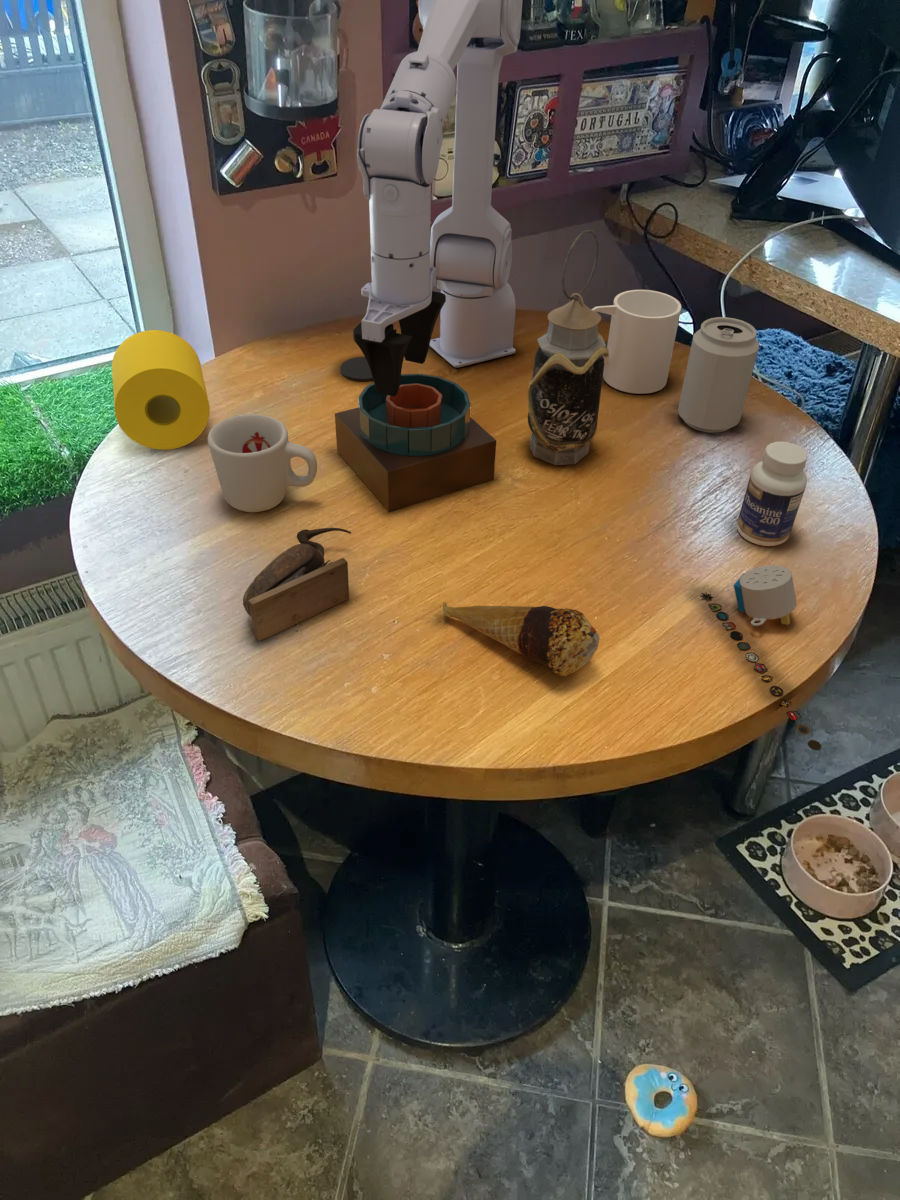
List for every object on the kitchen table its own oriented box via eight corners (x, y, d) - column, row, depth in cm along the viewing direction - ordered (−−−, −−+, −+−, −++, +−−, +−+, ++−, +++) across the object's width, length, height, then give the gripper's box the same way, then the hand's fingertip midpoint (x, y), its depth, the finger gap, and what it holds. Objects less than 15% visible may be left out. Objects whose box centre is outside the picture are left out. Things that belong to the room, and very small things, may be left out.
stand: (436, 424, 112) (437, 386, 109) (494, 479, 104) (496, 440, 100) (336, 451, 107) (334, 413, 104) (388, 511, 99) (387, 471, 95)
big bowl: (435, 390, 108) (435, 364, 106) (488, 439, 100) (490, 412, 98) (341, 414, 103) (340, 388, 101) (390, 467, 96) (389, 440, 94)
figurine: (386, 581, 90) (336, 537, 95) (385, 544, 87) (334, 500, 92) (258, 642, 83) (211, 590, 88) (252, 604, 80) (204, 553, 85)
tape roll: (94, 415, 101) (93, 374, 108) (170, 465, 108) (164, 423, 114) (154, 350, 99) (149, 312, 105) (228, 405, 105) (218, 366, 112)
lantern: (568, 478, 104) (597, 254, 88) (507, 453, 108) (524, 233, 91) (607, 445, 109) (641, 228, 93) (548, 422, 113) (571, 209, 96)
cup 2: (566, 367, 123) (575, 293, 116) (652, 360, 125) (666, 287, 118) (586, 398, 117) (597, 322, 110) (676, 390, 119) (692, 315, 113)
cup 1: (327, 482, 102) (322, 418, 97) (311, 526, 96) (305, 460, 91) (229, 474, 103) (219, 410, 98) (208, 517, 97) (196, 451, 92)
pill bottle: (725, 531, 97) (747, 451, 91) (752, 510, 100) (775, 431, 94) (772, 555, 95) (798, 474, 88) (798, 532, 98) (825, 452, 91)
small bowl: (424, 404, 105) (424, 378, 103) (451, 429, 101) (452, 403, 99) (377, 416, 102) (377, 390, 100) (403, 443, 99) (403, 416, 97)
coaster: (374, 355, 125) (373, 352, 124) (394, 375, 121) (394, 372, 121) (332, 365, 122) (332, 362, 122) (352, 385, 118) (352, 382, 118)
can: (744, 413, 116) (768, 321, 108) (731, 442, 111) (755, 347, 103) (684, 399, 118) (704, 308, 110) (669, 427, 113) (688, 333, 105)
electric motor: (730, 638, 87) (782, 644, 84) (721, 593, 85) (774, 598, 82) (761, 600, 92) (812, 605, 88) (753, 557, 90) (805, 560, 86)
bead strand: (710, 592, 90) (697, 594, 90) (710, 591, 90) (698, 593, 90) (825, 750, 76) (811, 753, 75) (826, 749, 76) (811, 752, 75)
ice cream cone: (418, 626, 83) (574, 673, 76) (441, 566, 84) (597, 607, 77) (445, 646, 88) (593, 691, 81) (467, 589, 89) (614, 629, 82)
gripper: (391, 217, 96) (393, 341, 105) (329, 268, 86) (337, 400, 95) (456, 227, 95) (452, 352, 103) (400, 281, 84) (401, 414, 93)
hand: (401, 376), depth 99 cm, fingers open, 7 cm apart
